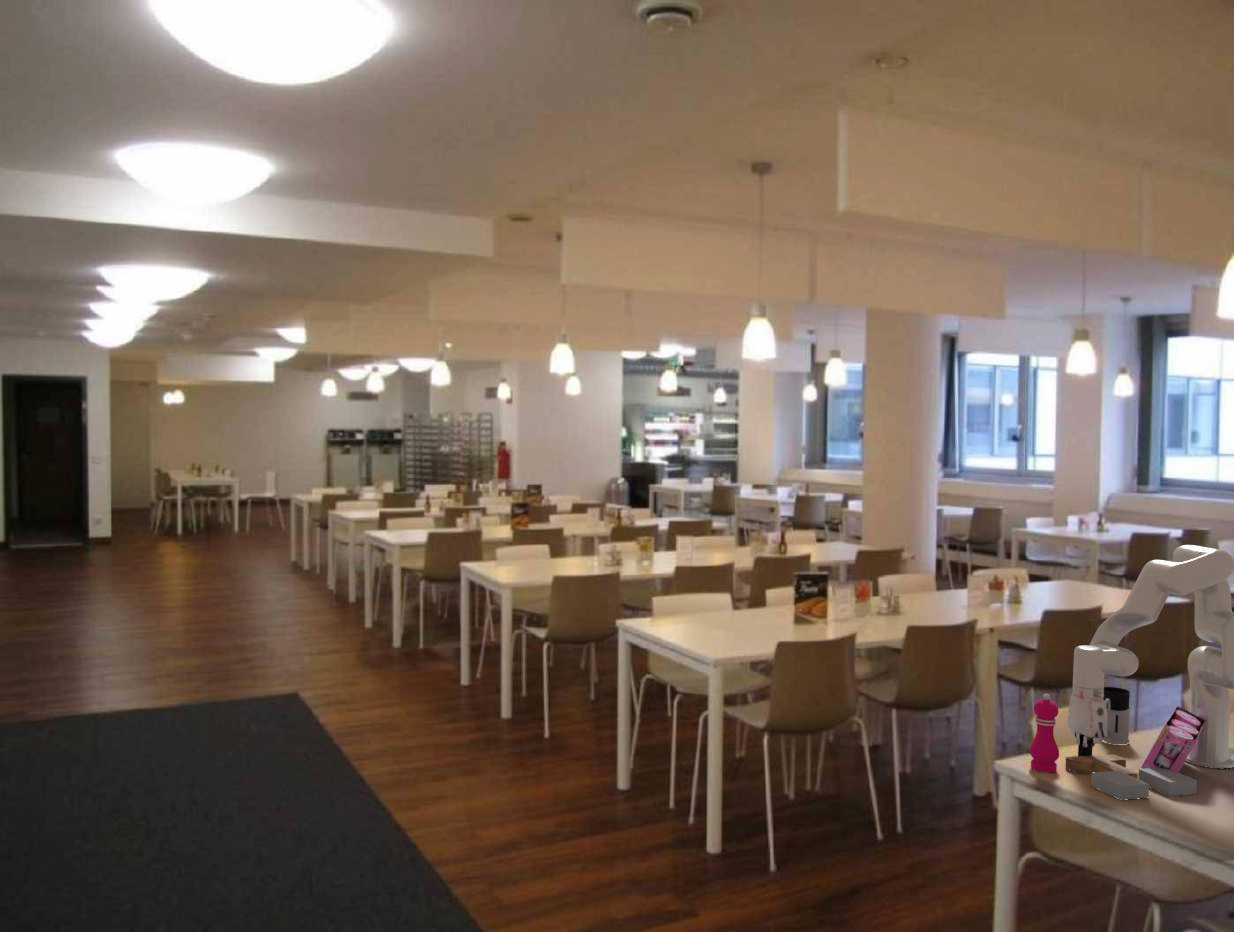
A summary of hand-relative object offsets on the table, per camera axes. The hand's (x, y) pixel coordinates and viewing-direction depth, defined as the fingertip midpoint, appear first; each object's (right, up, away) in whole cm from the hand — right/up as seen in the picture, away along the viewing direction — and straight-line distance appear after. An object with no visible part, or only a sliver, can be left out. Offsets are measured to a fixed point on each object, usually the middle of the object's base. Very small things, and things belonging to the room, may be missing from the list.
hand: (1084, 760), depth 265 cm
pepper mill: (-13, -1, -5) cm, 14 cm away
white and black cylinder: (+17, -1, +21) cm, 27 cm away
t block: (+2, -1, -9) cm, 9 cm away
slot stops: (+5, -2, -19) cm, 20 cm away
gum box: (+19, -1, -3) cm, 20 cm away
